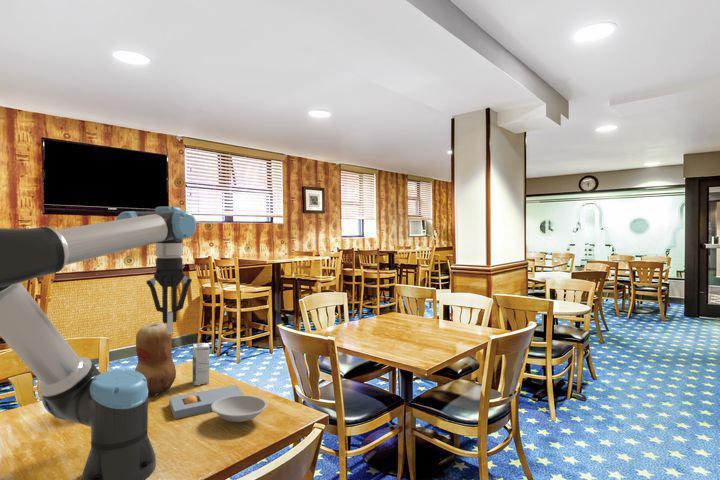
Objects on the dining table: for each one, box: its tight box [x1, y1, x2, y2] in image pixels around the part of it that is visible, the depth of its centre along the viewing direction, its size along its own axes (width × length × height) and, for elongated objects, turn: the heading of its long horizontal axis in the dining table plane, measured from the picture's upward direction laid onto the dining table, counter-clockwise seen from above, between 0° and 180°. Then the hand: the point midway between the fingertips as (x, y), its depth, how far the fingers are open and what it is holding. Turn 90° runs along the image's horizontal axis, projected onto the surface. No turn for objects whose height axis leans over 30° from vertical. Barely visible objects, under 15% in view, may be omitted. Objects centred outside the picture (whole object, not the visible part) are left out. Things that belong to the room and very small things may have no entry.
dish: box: [211, 394, 268, 423], centre depth 125 cm, size 18×14×5 cm
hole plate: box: [168, 384, 245, 420], centre depth 137 cm, size 12×22×2 cm, turn 122°
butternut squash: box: [134, 322, 177, 396], centre depth 145 cm, size 14×13×25 cm
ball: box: [184, 395, 197, 405], centre depth 134 cm, size 4×4×4 cm
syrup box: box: [192, 342, 210, 387], centre depth 157 cm, size 6×6×14 cm
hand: (169, 332), depth 127 cm, fingers closed
